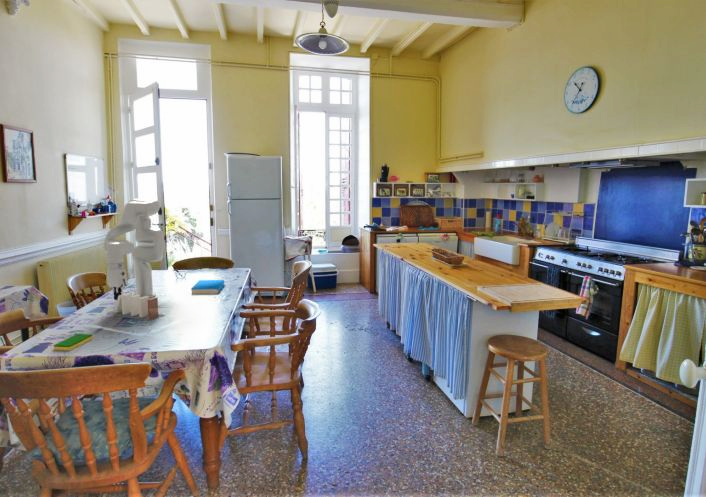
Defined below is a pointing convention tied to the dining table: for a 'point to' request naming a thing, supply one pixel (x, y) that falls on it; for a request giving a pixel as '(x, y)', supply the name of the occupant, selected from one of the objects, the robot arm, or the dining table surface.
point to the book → (207, 287)
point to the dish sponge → (73, 342)
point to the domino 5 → (152, 307)
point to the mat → (134, 316)
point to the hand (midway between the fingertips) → (117, 299)
